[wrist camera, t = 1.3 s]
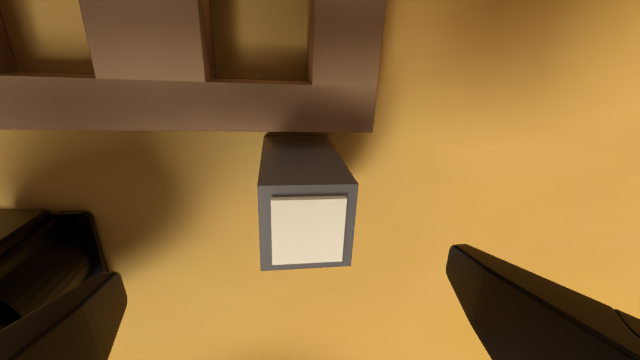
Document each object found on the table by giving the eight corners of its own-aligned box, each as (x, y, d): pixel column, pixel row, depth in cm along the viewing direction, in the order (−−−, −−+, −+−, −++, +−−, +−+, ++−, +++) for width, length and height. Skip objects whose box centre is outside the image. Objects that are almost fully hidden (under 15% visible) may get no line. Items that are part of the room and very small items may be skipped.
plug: (324, 193, 21) (352, 270, 13) (265, 194, 21) (260, 275, 13) (326, 136, 20) (360, 187, 12) (263, 136, 19) (257, 189, 11)
